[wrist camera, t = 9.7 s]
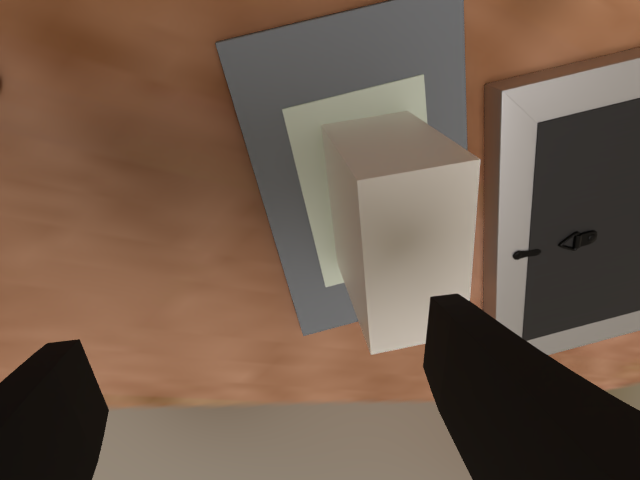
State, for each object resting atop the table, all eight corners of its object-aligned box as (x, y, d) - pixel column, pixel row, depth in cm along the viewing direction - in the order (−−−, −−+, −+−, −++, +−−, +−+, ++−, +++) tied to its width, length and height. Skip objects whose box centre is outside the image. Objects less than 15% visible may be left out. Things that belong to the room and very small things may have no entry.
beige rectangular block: (337, 262, 20) (370, 354, 15) (321, 124, 17) (357, 180, 12) (409, 249, 20) (467, 334, 15) (407, 110, 17) (480, 159, 12)
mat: (216, 41, 15) (215, 43, 15) (455, -16, 16) (464, -17, 15) (301, 328, 22) (303, 337, 22) (465, 284, 23) (471, 292, 22)
